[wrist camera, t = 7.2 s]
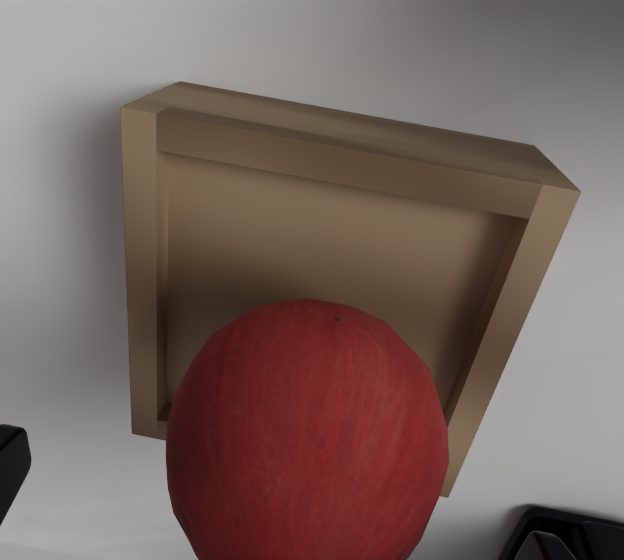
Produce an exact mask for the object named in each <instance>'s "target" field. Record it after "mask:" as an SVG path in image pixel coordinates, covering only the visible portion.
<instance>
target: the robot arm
mask: <svg viewBox="0 0 624 560" xmlns="http://www.w3.org/2000/svg"><path fill="white" fill-rule="evenodd" d="M30 466H31V453H30V448H29V443H28V437H27V433H26V431H25V430H24V428H21V427H17V426H12V425H7V424H2V425H0V526H1V524H2V522H3V520H4V518H5V516H6V514H7V512H8V510H9V508H10V506H11V505H12V503H13V501H14V499H15V497H16V495H17V493H18V491H19V489H20V487H21V485H22V483H23V482H24V480H25V478H26V476H27V474H28V472H29V469H30ZM498 560H624V525H623V524H618V523H613V522H609V521H604V520H599V519H594V518H589V517H584V516H579V515H574V514H569V513H564V512H559V511H554V510H549V509H544V508H531V509H529V510H527V511H526V512H525V513H524V515H523V516H522V518H521V520H520V522H519V523H518V525H517V527H516V529H515V531H514V532H513V534H512V536H511V538H510V539H509V541H508V543H507V545H506V547H505V548H504V550H503V552H502V554H501V555H500V557H499V559H498Z"/></svg>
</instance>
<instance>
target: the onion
mask: <svg viewBox="0 0 624 560" xmlns="http://www.w3.org/2000/svg"><path fill="white" fill-rule="evenodd" d="M166 465H167V481H168V490H169V495H170V499H171V504H172V508H173V513H174V514H175V516H176V518H177V520H178V522H179V524H180V525H181V527H182V529H183V531H184V533H185V534H186V536H187V538H188V540H189V542H190V544H191V546H192V548H193V550H194V552H195V555H196V556H197V558H198V560H406V559H407V558H408V557H409V556H410V554H411V553H412V551H413V550H414V548H415V547H416V546H417V544H418V543H419V541H420V540H421V538H422V536H423V533H424V531H425V529H426V526H427V524H428V521H429V519H430V517H431V514H432V512H433V510H434V507H435V505H436V503H437V501H438V498H439V496H440V494H441V491H442V488H443V484H444V480H445V476H446V472H447V468H448V465H449V446H448V429H447V425H446V422H445V419H444V415H443V412H442V408H441V405H440V401H439V398H438V395H437V391H436V388H435V385H434V381H433V378H432V375H431V372H430V368H429V366H428V365H427V364H426V363H425V362H424V361H423V360H422V359H421V358H420V357H419V356H418V355H417V354H416V353H415V352H414V351H413V350H412V349H411V348H410V347H409V346H408V345H407V344H406V343H405V342H404V341H403V340H402V339H401V338H400V337H399V336H398V334H397V333H396V332H395V331H394V330H393V329H392V328H391V327H390V325H389V324H388V323H387V322H385V321H383V320H380V319H378V318H376V317H374V316H372V315H369V314H367V313H365V312H363V311H361V310H359V309H356V308H354V307H352V306H350V305H344V304H338V303H332V302H326V301H321V300H315V299H309V298H307V299H299V300H291V301H283V302H275V303H268V304H265V305H262V306H259V307H257V308H254V309H251V310H249V311H247V312H245V313H244V314H242V315H241V316H239V317H238V318H236V319H235V320H233V321H232V322H230V323H228V324H227V325H225V326H224V327H222V328H221V329H219V330H218V331H216V332H215V333H213V334H212V335H211V336H210V337H209V339H208V340H207V341H206V343H205V344H204V345H203V347H202V348H201V349H200V350H199V352H198V353H197V354H196V356H195V357H194V358H193V360H192V362H191V364H190V366H189V368H188V370H187V372H186V374H185V376H184V378H183V379H182V381H181V383H180V385H179V387H178V389H177V391H176V393H175V395H174V399H173V403H172V407H171V411H170V415H169V419H168V422H167V434H166Z"/></svg>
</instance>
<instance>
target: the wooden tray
mask: <svg viewBox="0 0 624 560" xmlns="http://www.w3.org/2000/svg"><path fill="white" fill-rule="evenodd" d="M120 114H121V142H122V170H123V197H124V225H125V253H126V281H127V308H128V336H129V364H130V392H131V419H132V434H136V435H141V436H146V437H151V438H156V439H161V440H166V434H167V422H168V419H169V415H170V411H171V407H172V403H173V399H174V395H175V393H176V391H177V389H178V387H179V385H180V383H181V381H182V379H183V378H184V376H185V374H186V372H187V370H188V368H189V366H190V364H191V362H192V360H193V358H194V357H195V356H196V354H197V353H198V352H199V350H200V349H201V348H202V347H203V345H204V344H205V343H206V341H207V340H208V339H209V337H210V336H211V335H212V334H213V333H215V332H216V331H218V330H219V329H221V328H222V327H224V326H225V325H227V324H228V323H230V322H232V321H233V320H235V319H236V318H238V317H239V316H241V315H242V314H244V313H245V312H247V311H249V310H251V309H254V308H257V307H259V306H262V305H265V304H268V303H275V302H283V301H291V300H299V299H307V298H309V299H315V300H321V301H326V302H332V303H338V304H344V305H350V306H352V307H354V308H356V309H359V310H361V311H363V312H365V313H367V314H369V315H372V316H374V317H376V318H378V319H380V320H383V321H385V322H387V323H388V324H389V325H390V327H391V328H392V329H393V330H394V331H395V332H396V333H397V334H398V336H399V337H400V338H401V339H402V340H403V341H404V342H405V343H406V344H407V345H408V346H409V347H410V348H411V349H412V350H413V351H414V352H415V353H416V354H417V355H418V356H419V357H420V358H421V359H422V360H423V361H424V362H425V363H426V364H427V365H428V366H429V368H430V372H431V375H432V378H433V381H434V385H435V388H436V391H437V395H438V398H439V401H440V405H441V408H442V412H443V415H444V419H445V422H446V425H447V429H448V446H449V465H448V468H447V472H446V476H445V480H444V484H443V488H442V491H441V494H440V496H442V497H447V498H448V496H449V494H450V492H451V490H452V487H453V485H454V483H455V480H456V478H457V476H458V473H459V471H460V469H461V467H462V464H463V462H464V460H465V457H466V455H467V453H468V450H469V448H470V446H471V444H472V441H473V439H474V437H475V434H476V432H477V430H478V427H479V425H480V423H481V421H482V418H483V416H484V414H485V411H486V409H487V407H488V404H489V402H490V400H491V398H492V395H493V393H494V391H495V388H496V386H497V384H498V382H499V379H500V377H501V375H502V372H503V370H504V368H505V365H506V363H507V361H508V359H509V356H510V354H511V352H512V349H513V347H514V345H515V342H516V340H517V338H518V336H519V333H520V331H521V329H522V326H523V324H524V322H525V319H526V317H527V315H528V313H529V310H530V308H531V306H532V303H533V301H534V299H535V296H536V294H537V292H538V290H539V287H540V285H541V283H542V280H543V278H544V276H545V273H546V271H547V269H548V267H549V264H550V262H551V260H552V257H553V255H554V253H555V250H556V248H557V246H558V244H559V241H560V239H561V237H562V234H563V232H564V230H565V227H566V225H567V223H568V221H569V218H570V216H571V214H572V211H573V209H574V207H575V205H576V202H577V200H578V198H579V195H580V193H581V191H580V190H579V189H578V188H577V187H576V186H575V185H574V184H573V183H572V182H571V181H570V180H569V179H568V178H567V177H566V176H565V175H564V174H563V173H562V172H561V171H560V170H559V169H558V168H557V167H556V166H555V165H554V164H553V163H552V162H551V161H550V160H549V159H548V158H546V157H545V156H544V155H543V154H542V153H541V152H540V151H539V150H538V149H537V148H536V147H535V146H534V145H528V144H522V143H517V142H511V141H506V140H500V139H495V138H489V137H484V136H478V135H473V134H467V133H462V132H456V131H451V130H445V129H440V128H434V127H429V126H423V125H418V124H412V123H407V122H401V121H396V120H390V119H384V118H379V117H373V116H368V115H362V114H357V113H351V112H346V111H340V110H335V109H329V108H324V107H318V106H313V105H307V104H302V103H296V102H291V101H285V100H280V99H274V98H269V97H263V96H258V95H252V94H247V93H241V92H235V91H230V90H224V89H219V88H213V87H208V86H202V85H197V84H191V83H186V82H178V83H176V84H173V85H171V86H169V87H166V88H164V89H162V90H159V91H157V92H154V93H152V94H150V95H147V96H145V97H143V98H140V99H138V100H136V101H133V102H131V103H129V104H126V105H124V106H122V107H120Z"/></svg>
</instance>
